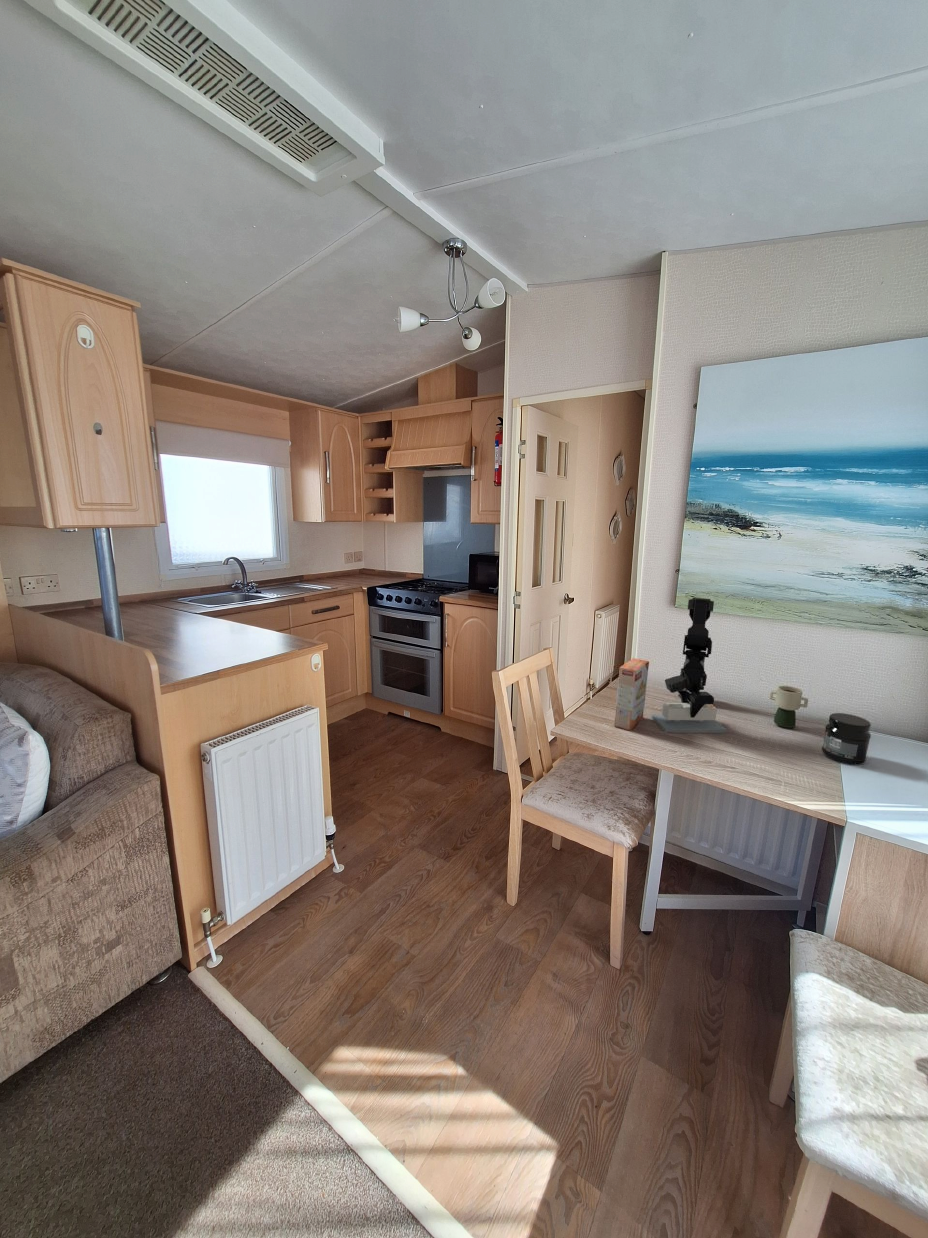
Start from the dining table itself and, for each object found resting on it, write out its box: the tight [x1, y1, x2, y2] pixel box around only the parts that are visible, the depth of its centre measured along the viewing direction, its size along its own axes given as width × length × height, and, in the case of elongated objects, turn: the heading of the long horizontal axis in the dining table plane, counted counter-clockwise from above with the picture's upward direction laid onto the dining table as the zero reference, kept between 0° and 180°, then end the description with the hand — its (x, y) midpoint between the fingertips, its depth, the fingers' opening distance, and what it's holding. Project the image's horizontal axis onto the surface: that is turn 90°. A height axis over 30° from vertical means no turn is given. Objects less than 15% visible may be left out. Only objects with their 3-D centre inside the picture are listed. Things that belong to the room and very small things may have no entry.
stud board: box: [650, 713, 727, 734], centre depth 165 cm, size 12×20×5 cm, turn 91°
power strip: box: [661, 702, 718, 721], centre depth 164 cm, size 5×16×4 cm, turn 91°
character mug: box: [769, 685, 809, 728], centre depth 165 cm, size 11×7×13 cm, turn 45°
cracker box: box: [613, 658, 650, 731], centre depth 165 cm, size 14×6×21 cm, turn 143°
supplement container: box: [821, 712, 872, 765], centre depth 143 cm, size 10×10×12 cm
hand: (688, 714), depth 165 cm, fingers closed on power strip, 5 cm apart
